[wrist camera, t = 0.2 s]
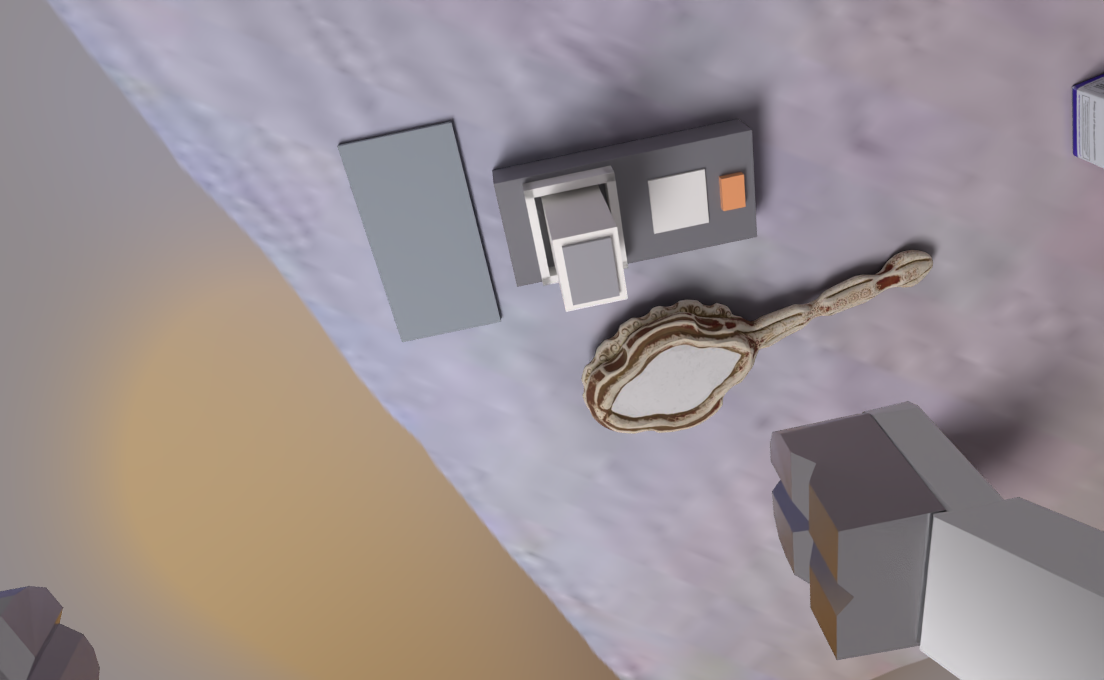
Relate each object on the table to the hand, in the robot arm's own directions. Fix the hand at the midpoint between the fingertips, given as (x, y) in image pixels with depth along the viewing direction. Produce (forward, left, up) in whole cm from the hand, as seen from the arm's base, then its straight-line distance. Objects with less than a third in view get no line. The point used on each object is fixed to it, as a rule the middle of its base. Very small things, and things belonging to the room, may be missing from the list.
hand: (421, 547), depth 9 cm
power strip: (+15, +9, -47) cm, 50 cm away
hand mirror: (+28, +18, -48) cm, 58 cm away
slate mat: (+15, -6, -47) cm, 50 cm away
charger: (+15, +5, -44) cm, 47 cm away
